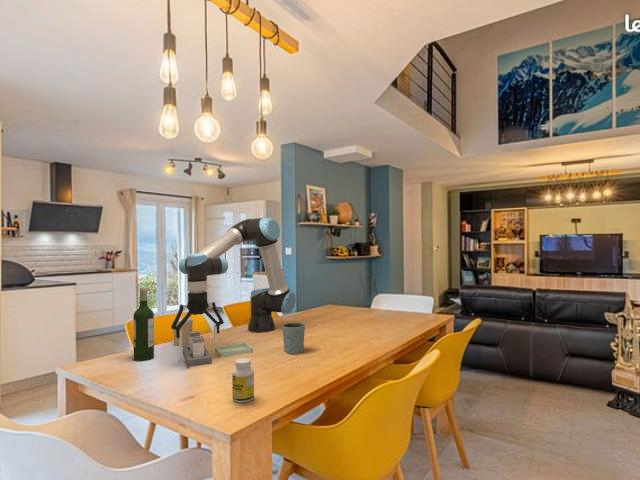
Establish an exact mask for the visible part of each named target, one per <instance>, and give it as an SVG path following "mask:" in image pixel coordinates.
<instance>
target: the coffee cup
mask: <svg viewBox="0 0 640 480" xmlns="http://www.w3.org/2000/svg"><path fill="white" fill-rule="evenodd" d="M183 318H184V317H180V318H179V320H178V322H177V325H176V326H178V324H179V323H180V322H181V321H182V319H183ZM174 320H175V318H174V319H173V320H172V324H173V322H174ZM193 321H194V320H193V318H192V317H189V318H188V320H187V321H186V322H185V323H184V325H183V326H182V327H181V328H180V329H181V330H182V347H183V346H189V332H191V331H193ZM172 334H173V343H174V346H175V347H180V346H179V338H177V337H176V330H175V329H172Z"/></svg>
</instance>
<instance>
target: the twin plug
mask: <svg viewBox="0 0 640 480" xmlns="http://www.w3.org/2000/svg"><path fill="white" fill-rule="evenodd" d="M192 337H201V332H200V330H192V331H191V332H189V345H188V346H189V350H192Z"/></svg>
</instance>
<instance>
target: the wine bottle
mask: <svg viewBox="0 0 640 480" xmlns="http://www.w3.org/2000/svg"><path fill="white" fill-rule="evenodd" d="M147 291H148V288H147V287H146V286H145V287H140V289H139V306H138V308H137V309H136V310H134V313H133V316H132V317H133V319H132V320H133V321H132V322H133V323H132V324H133V327H132V328H133V361H134V362H135V361H136V362H146V361H150V360H152V359H154V358H155V320H154V319H155V317H154V316H155V314H154V310H152V309H151V308H150V307H149V306H148V305H149V304H148V292H147Z"/></svg>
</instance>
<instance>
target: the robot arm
mask: <svg viewBox="0 0 640 480" xmlns="http://www.w3.org/2000/svg"><path fill="white" fill-rule="evenodd" d="M280 233H281V229H280V225H279V223H278V222H277V220H275V219H274V218H272V217H258V218H247V219H244V220H241V221H239V222H237V223H236V224H234V225H232V226H231V227H230V228H228V229H227V230H226V232H225V233H224V234H223V235H221V236H219V237H218V238H217V239H216V240H214V241H212V242H211V243H210V244H208V245H207V246H205V247H204V248H202V249H201V250H199V251H198V252H197V253H190V254H188V255H187V256H186V257H184V258H181V259H180V261H179V264H178V269H179V271H180V272H181V273H182V274H184V275H187V291H188V293H187V304H182V303H181V304H179V309H178V312H177V314H176V316H175V318H174V319H175V320H174V319H173V320H174V322H173V321H172V322H173V323H172V324H171V326H170V327H171V329H172V330H173V329H175V330H176V337H177V338H179V346H178V347H179V348H183V346H182V330H181V329H180V328H181V327H182V326H183V325H184V323H185V322H186V321H187V320H188V318H191V316H192V315H193V316H196V315H203V314H205V315H206V316H207V317H208V318H209V319H210V320H211V321H212V323H213V324H215V325H213V341H214V343H218V334H220V326H221V325H223V324H225V321H224V319H223V317H222V316H221V314H220V313H219V311H218V309H217V307H216V302H215V301H211V302H208V292H207V290H208V276H216V275H218V276H220V275H222V274H226V273H227V272H228V270H229V269H228V268H229V262H228V260H227V259H226V258H225V257H223V255H224V254H225V253H226V252H228V251H229V250H230V249H231V248H233V247H235V246H236V245H237V246H238V245H241V244H242V243H244V242H254V243H255V246H256V248H259V252H260V256H261V259H262V263H263V266H264V271H265V274H266V279H267V282H268V286H269V287H265V288H258V289H253V290H251V292H250V318H249V322H248V325H247V331H248V332H250V333H266V332H273V331H274V330H275V329H276V326H275V325H276V324H275V321H274V318H273V314H272V313H281V314H287V313H288V314H289V313H291V312H292V311H293V309H294V308H295V307H296V300H297V297H296V293H295V292H294V291H291V290H290V286H289V285H288V284H286V282H285V278H284V274H283V273H284V272H283V270H282V266H281V262H280V257H279V254H278V252H279V251H278V249H277V243H278V242H279V241H278V240H279V238H280V235H281V234H280ZM208 307H210V309H211V308H212V310H213V312H214V314H215V316H216V317H217V319H218V320H217V319H215V318H214V316H213V315H212V314H210V312H209V311H207V310H208ZM186 309H187V310H188V311H187V313H186V314H185V316H184V317H182V318H183V319H182V321H181V322H180V323H179V324H178V326H176V325H177V322H178V320H179V318H181V316H182V315H183V312H184V311H185V310H186Z"/></svg>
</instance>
